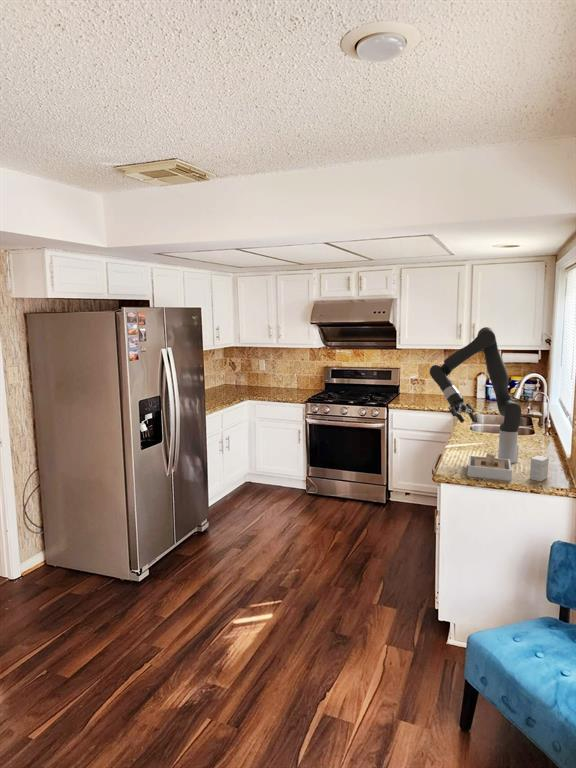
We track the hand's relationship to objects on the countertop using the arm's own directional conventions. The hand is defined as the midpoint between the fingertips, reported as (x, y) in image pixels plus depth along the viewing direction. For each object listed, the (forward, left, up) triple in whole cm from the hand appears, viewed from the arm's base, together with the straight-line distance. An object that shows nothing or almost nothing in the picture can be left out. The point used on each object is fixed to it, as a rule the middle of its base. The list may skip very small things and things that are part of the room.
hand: (468, 421), depth 270 cm
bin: (-4, +13, -25) cm, 28 cm away
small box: (-21, +28, -25) cm, 43 cm away
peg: (-4, +13, -24) cm, 28 cm away
